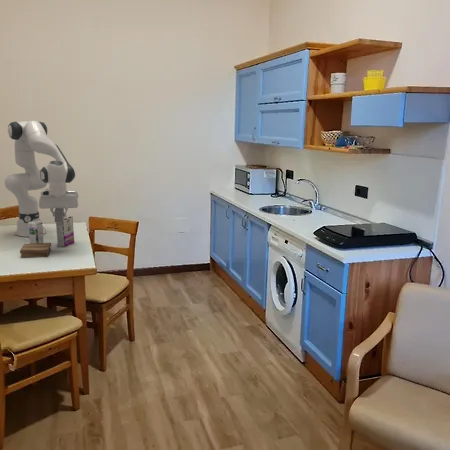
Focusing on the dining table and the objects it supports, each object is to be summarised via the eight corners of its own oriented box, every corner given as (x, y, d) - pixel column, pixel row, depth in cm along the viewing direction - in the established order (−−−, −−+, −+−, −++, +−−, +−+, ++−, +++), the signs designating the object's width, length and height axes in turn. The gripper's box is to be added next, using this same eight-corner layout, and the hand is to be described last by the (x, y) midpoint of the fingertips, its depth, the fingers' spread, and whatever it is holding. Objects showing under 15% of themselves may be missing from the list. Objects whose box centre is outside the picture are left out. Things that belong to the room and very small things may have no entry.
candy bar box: (66, 241, 285) (65, 215, 281) (74, 242, 284) (73, 215, 281) (56, 246, 274) (55, 219, 271) (64, 247, 273) (63, 219, 270)
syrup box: (29, 247, 273) (27, 222, 269) (35, 244, 278) (34, 220, 275) (37, 247, 271) (36, 223, 268) (44, 245, 277) (42, 221, 274)
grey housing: (56, 218, 265) (56, 207, 264) (64, 217, 266) (63, 207, 265) (54, 222, 256) (54, 211, 254) (62, 221, 257) (62, 211, 255)
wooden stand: (25, 250, 265) (24, 243, 264) (51, 249, 268) (50, 242, 267) (20, 257, 252) (19, 250, 251) (48, 256, 255) (47, 249, 254)
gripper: (78, 190, 263) (79, 214, 266) (39, 190, 258) (40, 215, 261) (77, 191, 257) (78, 216, 260) (37, 192, 252) (39, 217, 255)
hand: (59, 216), depth 260 cm, fingers closed on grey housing, 4 cm apart
